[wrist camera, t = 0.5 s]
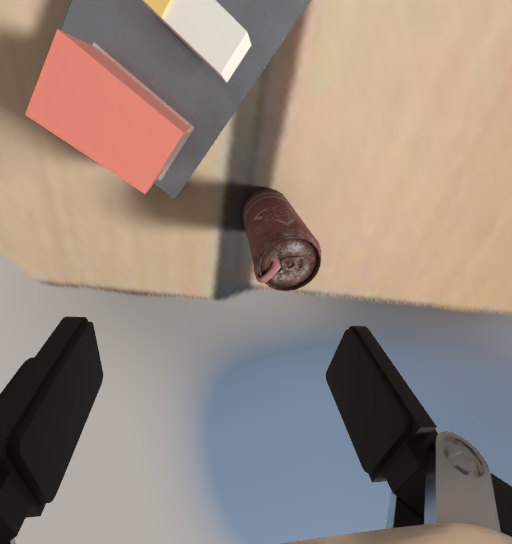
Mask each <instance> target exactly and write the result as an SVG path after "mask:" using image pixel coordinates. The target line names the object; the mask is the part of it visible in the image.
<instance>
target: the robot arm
mask: <svg viewBox="0 0 512 544" xmlns="http://www.w3.org/2000/svg"><path fill="white" fill-rule="evenodd" d="M102 380H103V371H102V366H101V361H100V356H99V351H98V346H97V341H96V336H95V331H94V326H93V323H92V322H88V320H87V318H86V317H64V318H63V319H62V320H61V322H60V323H59V325H58V326H57V327H56V329H55V330H54V331H53V333H52V334H51V336H50V337H49V338H48V340H47V341H46V343H45V344H44V345H43V347H42V348H41V350H40V351H39V352H38V354H37V355H36V356H35V357H34V358H30V359H28V360H27V361H25V362H24V363H23V365H22V366H21V367H20V368H19V370H18V371H17V372H16V374H15V375H14V376H13V378H12V379H11V381H10V382H9V383H8V384H7V386H6V387H5V389H4V390H3V391H2V392H1V394H0V544H16V543H15V539H14V538H15V537H16V536H17V534H18V532H19V530H20V528H21V526H22V524H23V521H24V519H25V518H26V517H36V516H41V513H42V511H43V509H44V507H45V504H46V503H50V502H52V500H53V499H54V497H55V496H56V493H57V491H58V489H59V486H60V484H61V481H62V479H63V476H64V474H65V472H66V469H67V467H68V464H69V462H70V459H71V457H72V455H73V452H74V449H75V447H76V445H77V442H78V440H79V438H80V435H81V433H82V430H83V427H84V425H85V423H86V420H87V418H88V416H89V413H90V411H91V408H92V406H93V403H94V401H95V398H96V396H97V393H98V391H99V389H100V386H101V383H102ZM326 380H327V383H328V385H329V387H330V390H331V392H332V395H333V397H334V400H335V402H336V404H337V407H338V409H339V412H340V414H341V417H342V419H343V421H344V424H345V426H346V429H347V431H348V433H349V436H350V438H351V441H352V443H353V446H354V448H355V450H356V453H357V455H358V458H359V460H360V463H361V465H362V467H363V469H364V470H365V472H367V473H369V476H370V478H371V480H372V482H381V481H386V480H387V481H388V484H389V486H390V488H391V493H390V501H389V508H388V516H387V524H386V529H382V530H375V531H368V532H361V533H353V534H346V535H339V536H332V537H324V538H317V539H310V540H303V541H296V542H289V543H282V544H512V487H511V486H510V485H508V484H507V483H505V482H504V481H502V480H501V479H499V478H498V477H496V476H494V475H493V474H491V473H490V470H489V467H488V464H487V462H486V461H485V459H484V458H483V456H482V455H481V454H480V452H479V451H478V450H477V449H476V448H475V447H474V446H473V445H472V444H471V443H469V442H468V441H467V440H466V439H464V438H463V437H461V436H459V435H457V434H455V433H453V432H448V431H444V432H440V433H439V434H438V433H437V432H436V430H435V428H436V427H437V426H436V425H435V424H434V422H433V421H432V419H431V418H430V417H429V415H428V414H427V412H426V411H425V410H424V408H423V406H422V405H421V404H420V402H419V401H418V399H417V398H416V396H415V395H414V394H413V392H412V391H411V389H410V388H409V386H408V385H407V384H406V382H405V381H404V379H403V378H402V376H401V375H400V373H399V372H398V371H397V369H396V368H395V366H394V365H393V364H392V362H391V361H390V359H389V358H388V356H387V355H386V353H385V352H384V351H383V349H382V348H381V346H380V345H379V343H378V342H377V341H376V339H375V338H374V337H373V335H372V333H371V332H370V331H369V329H368V328H367V327H365V326H351V327H350V328H349V329H348V330H346V331H345V333H344V335H343V337H342V340H341V341H340V344H339V346H338V348H337V350H336V353H335V355H334V357H333V359H332V361H331V364H330V365H329V368H328V370H327V372H326Z"/></svg>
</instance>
